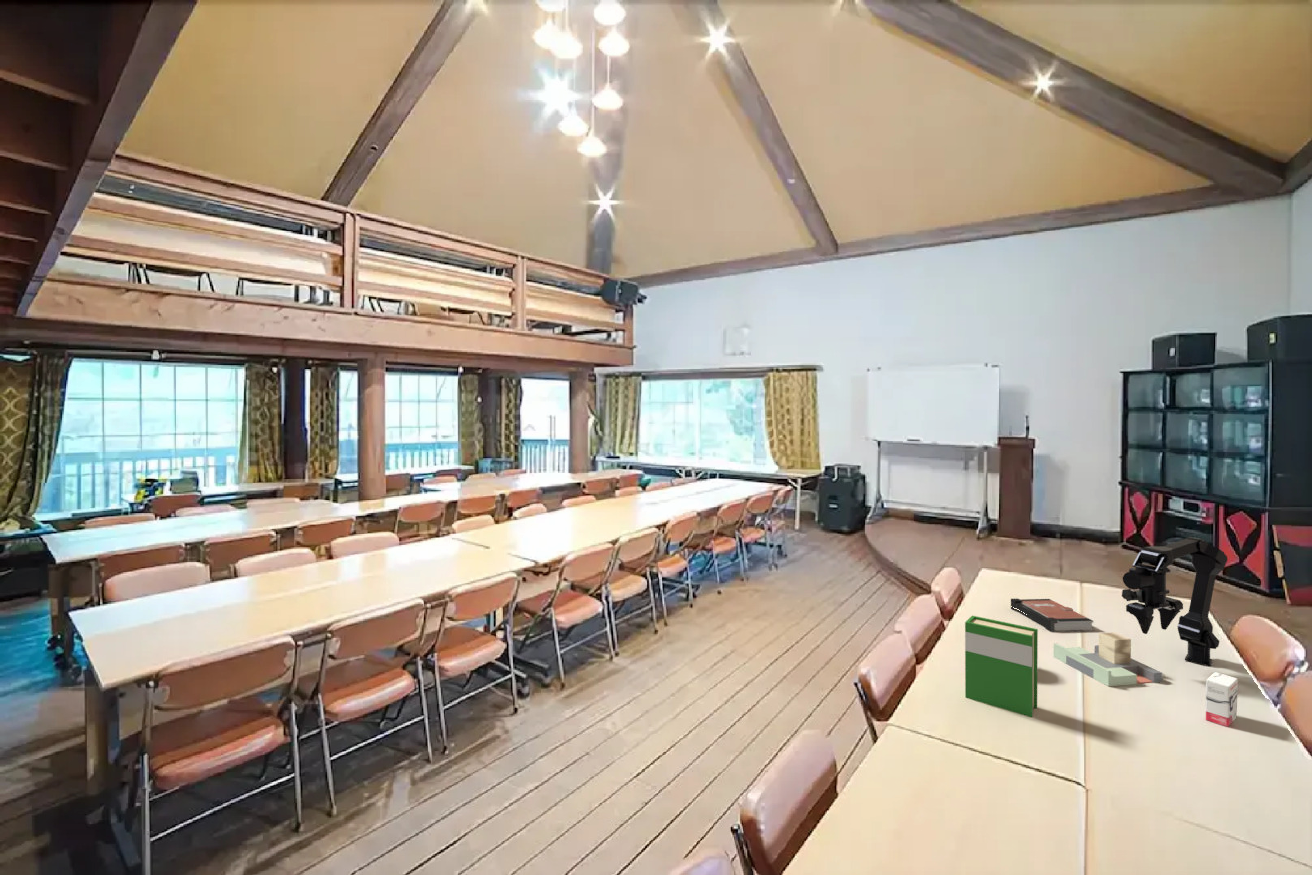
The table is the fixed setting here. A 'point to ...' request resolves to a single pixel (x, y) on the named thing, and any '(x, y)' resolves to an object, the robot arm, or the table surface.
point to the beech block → (1114, 648)
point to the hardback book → (1001, 664)
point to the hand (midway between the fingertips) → (1154, 631)
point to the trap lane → (1106, 667)
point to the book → (1052, 615)
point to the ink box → (1221, 699)
